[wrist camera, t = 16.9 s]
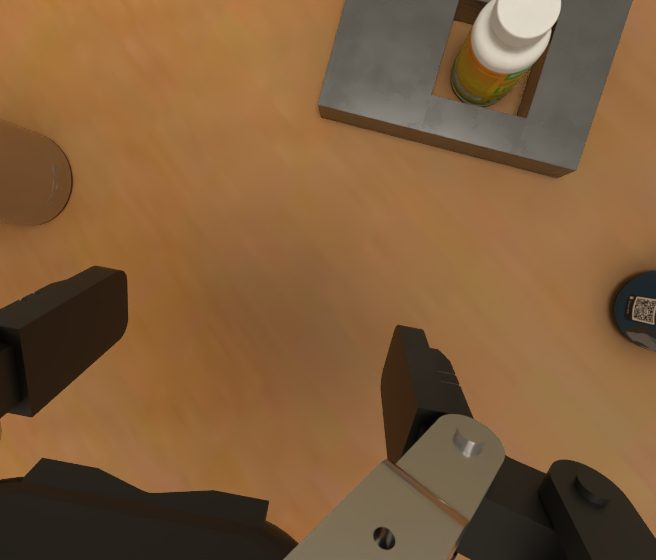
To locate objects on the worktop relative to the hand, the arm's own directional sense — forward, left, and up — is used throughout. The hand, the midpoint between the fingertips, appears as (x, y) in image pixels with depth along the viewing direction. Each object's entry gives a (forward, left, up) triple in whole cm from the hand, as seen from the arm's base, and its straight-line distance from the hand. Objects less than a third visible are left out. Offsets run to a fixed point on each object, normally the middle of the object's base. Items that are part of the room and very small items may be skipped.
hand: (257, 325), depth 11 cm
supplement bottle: (+8, +21, -25) cm, 34 cm away
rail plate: (+6, +21, -25) cm, 33 cm away
